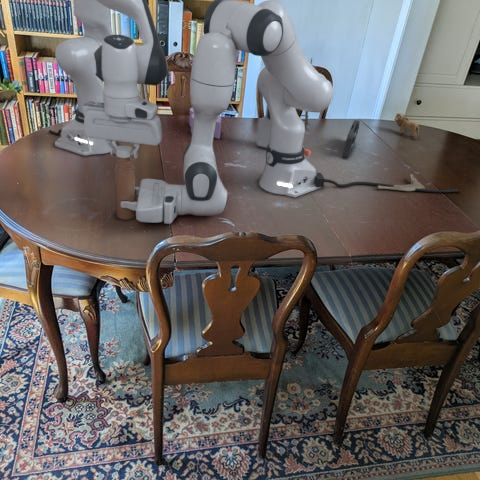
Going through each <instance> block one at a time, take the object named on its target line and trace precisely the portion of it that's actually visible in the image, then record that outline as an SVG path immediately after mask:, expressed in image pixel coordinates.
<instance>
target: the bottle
mask: <svg viewBox="0 0 480 480" xmlns="http://www.w3.org/2000/svg"><path fill="white" fill-rule="evenodd" d="M135 187H136V170H135V166H134V164H133V162H132V160H131V157H129V158H120V157H118V160H117V162H116V164H115V167H114V188H115V190H114V191H115V192H114V193H115V213H116V217H117V218H118V219H121V220H132V219H134V218H136V211H133V210H131V209H128V208H122V207H121V200H128V201H129V202H136V195H135Z"/></svg>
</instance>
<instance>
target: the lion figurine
mask: <svg viewBox="0 0 480 480" xmlns="http://www.w3.org/2000/svg"><path fill="white" fill-rule="evenodd" d="M394 123H395V124H396V125H397V127H399V131H398V132H397V134H399V135H401V134H402V133H403V132H404V130H411V133H412V134H411V135H410V136H411V137H412V139H413V140H416V139H417V137H418V139H420V140H421V139H422V137H421V136H420V127H419V126H420V125H419V124H418V122H417V123H416V122H413V121H410V120H409V119H408V117H407V116H406V115H405V114H403V113H402V112H398V113H396V115H395V117H394ZM414 137H416V138H414Z"/></svg>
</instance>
